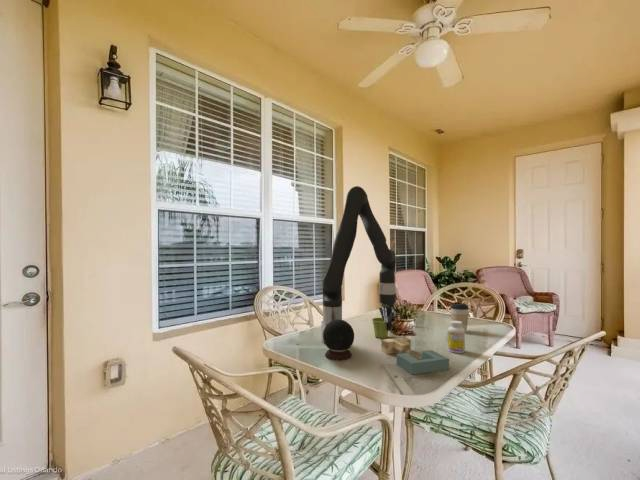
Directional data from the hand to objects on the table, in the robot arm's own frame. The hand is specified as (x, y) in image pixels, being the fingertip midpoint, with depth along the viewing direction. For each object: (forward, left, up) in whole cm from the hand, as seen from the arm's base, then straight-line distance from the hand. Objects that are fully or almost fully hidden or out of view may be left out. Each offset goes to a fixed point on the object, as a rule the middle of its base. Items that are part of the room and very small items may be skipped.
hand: (388, 330), depth 147 cm
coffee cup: (+48, +10, -7) cm, 50 cm away
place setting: (+22, +20, -8) cm, 30 cm away
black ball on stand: (-27, -6, -7) cm, 28 cm away
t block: (-1, -11, -7) cm, 13 cm away
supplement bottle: (+24, -16, -7) cm, 30 cm away
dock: (-1, -26, -7) cm, 27 cm away
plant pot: (+3, +13, -7) cm, 16 cm away
